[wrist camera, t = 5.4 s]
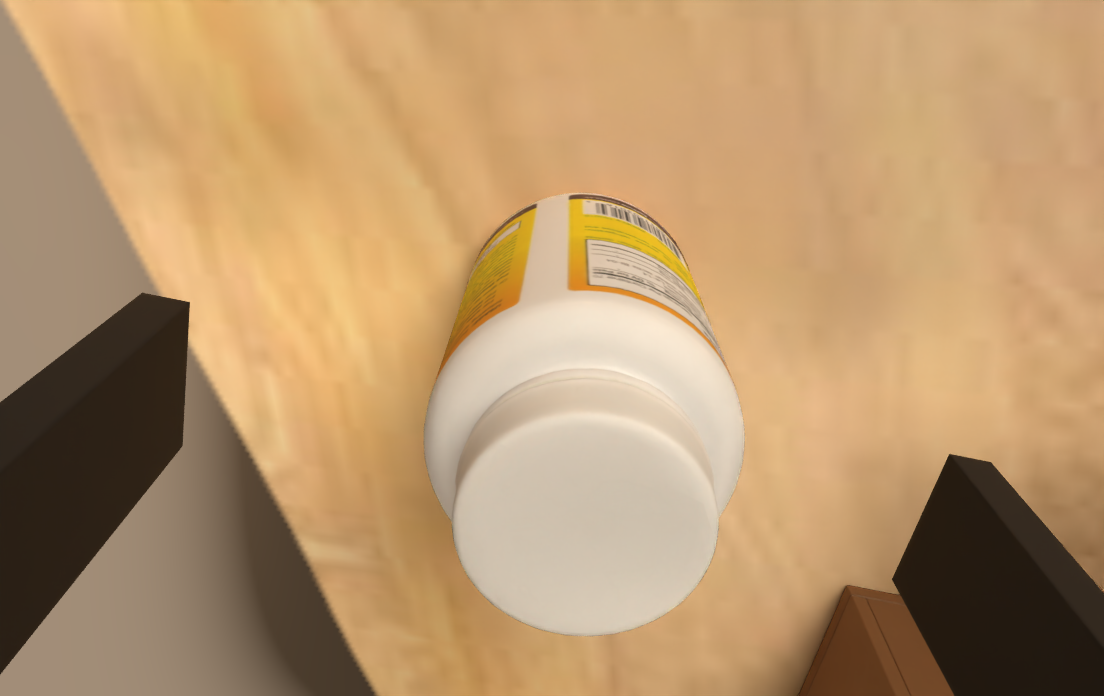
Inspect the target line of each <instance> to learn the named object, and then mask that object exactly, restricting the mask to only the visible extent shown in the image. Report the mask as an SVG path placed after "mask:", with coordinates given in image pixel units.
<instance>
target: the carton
mask: <svg viewBox="0 0 1104 696" xmlns="http://www.w3.org/2000/svg"><path fill="white" fill-rule="evenodd" d="M799 696H954V694H953V692H952V690H951V689H950V687H949V685H948V683H947V681H946V679H945V677H944V676H943V674H942V672H941V670H940V668H939V666H938V664H937V662H936V661H935V659H934V657H933V655H932V653H931V651H930V649H929V648H928V646H927V644H926V642H925V640H924V638H923V636H922V634H921V633H920V631H919V629H918V627H917V625H916V623H915V621H914V620H913V618H912V616H911V614H910V612H909V610H908V608H907V606H906V605H905V603H904V601H903V599H902V597H901V595H896V594H891V593H885V592H880V591H875V590H870V589H865V588H860V587H855V586H850V585H847V586H846V589H845V591H844V593H843V595H842V598H841V600H840V602H839V605H838V607H837V609H836V611H835V614H834V616H833V618H832V621H831V623H830V625H829V628H828V630H827V632H826V634H825V637H824V639H823V641H822V644H821V646H820V648H819V650H818V653H817V655H816V657H815V660H814V662H813V664H812V667H811V669H810V671H809V673H808V676H807V678H806V680H805V683H804V685H803V687H802V689H801V692H800V694H799Z"/></svg>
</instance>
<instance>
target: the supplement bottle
mask: <svg viewBox="0 0 1104 696" xmlns="http://www.w3.org/2000/svg"><path fill="white" fill-rule="evenodd" d="M744 443H745V432H744V422H743V416H742V411H741V406H740V402H739V398H738V395H737V391H736V388H735V385H734V382H733V380H732V378H731V375H730V372H729V370H728V368H727V365H726V363H725V360H724V357H723V355H722V352H721V350H720V347H719V345H718V342H717V340H716V337H715V334H714V332H713V329H712V327H711V324H710V322H709V319H708V317H707V314H706V311H705V309H704V306H703V304H702V301H701V299H700V296H699V294H698V291H697V289H696V286H695V283H694V281H693V278H692V276H691V274H690V271H689V268H688V265H687V263H686V261H685V259H684V257H683V255H682V253H681V251H680V249H679V247H678V246H677V244H676V242H675V241H674V240H673V238H672V237H671V236H670V235H669V233H668V232H667V231H666V230H665V229H664V228H663V227H662V226H661V225H660V224H659V223H658V222H657V221H656V220H655V219H654V218H652V217H651V216H650V215H649V214H647V213H646V212H644V211H643V210H641V209H639V208H637V207H636V206H634V205H632V204H630V203H628V202H625V201H623V200H620V199H617V198H614V197H610V196H606V195H601V194H593V193H567V194H561V195H556V196H552V197H548V198H545V199H542V200H539V201H536V202H534V203H532V204H530V205H528V206H526V207H524V208H522V209H521V210H519V211H518V212H516V213H515V214H513V215H512V216H510V217H509V218H508V219H507V220H505V221H504V222H503V223H502V224H501V225H500V226H499V227H498V228H497V229H496V230H495V232H494V233H493V234H492V235H491V236H490V238H489V239H488V240H487V241H486V243H485V245H484V246H483V248H482V249H481V251H480V253H479V255H478V257H477V259H476V262H475V264H474V266H473V269H472V272H471V275H470V278H469V281H468V284H467V287H466V290H465V294H464V297H463V300H462V303H461V306H460V309H459V311H458V315H457V318H456V321H455V324H454V327H453V330H452V333H451V336H450V339H449V342H448V345H447V348H446V351H445V354H444V357H443V360H442V363H441V366H440V369H439V372H438V375H437V378H436V381H435V384H434V387H433V389H432V393H431V396H430V399H429V404H428V408H427V413H426V418H425V424H424V455H425V462H426V466H427V471H428V475H429V478H430V481H431V484H432V487H433V490H434V492H435V494H436V496H437V498H438V500H439V502H440V504H441V506H442V508H443V510H444V511H445V513H446V514H447V516H448V517H449V519H450V520H451V521H452V532H453V539H454V543H455V548H456V551H457V554H458V557H459V560H460V562H461V564H462V566H463V568H464V570H465V572H466V574H467V576H468V578H469V579H470V580H471V582H472V583H473V584H474V586H475V587H476V588H477V589H478V590H479V591H480V593H481V594H482V595H483V596H484V597H485V598H486V599H487V600H488V601H489V602H491V603H492V604H493V605H494V606H495V607H497V608H498V609H500V610H501V611H503V612H504V613H506V614H507V615H509V616H510V617H512V618H514V619H516V620H518V621H520V622H522V623H525V624H527V625H529V626H532V627H534V628H537V629H540V630H544V631H548V632H553V633H558V634H563V635H571V636H600V635H611V634H616V633H620V632H625V631H629V630H632V629H635V628H637V627H640V626H643V625H645V624H648V623H650V622H652V621H654V620H656V619H658V618H660V617H662V616H663V615H665V614H666V613H668V612H669V611H670V610H672V609H673V608H675V607H676V606H678V605H679V604H680V603H681V602H682V601H683V600H684V599H685V598H686V597H687V596H688V595H689V594H690V593H691V592H692V591H693V590H694V589H695V587H696V586H697V585H698V583H699V582H700V581H701V579H702V578H703V576H704V574H705V573H706V571H707V569H708V566H709V564H710V562H711V560H712V557H713V554H714V552H715V547H716V542H717V537H718V530H719V517H720V515H721V514H722V512H723V511H724V509H725V507H726V506H727V504H728V502H729V500H730V498H731V496H732V494H733V492H734V490H735V487H736V485H737V482H738V478H739V474H740V471H741V467H742V462H743V455H744Z"/></svg>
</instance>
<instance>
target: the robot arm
mask: <svg viewBox="0 0 1104 696" xmlns="http://www.w3.org/2000/svg"><path fill="white" fill-rule="evenodd" d="M189 308H190V302H186V301H181V300H176V299H171V298H166V297H161V296H156V295H151V294H145V293H141V295H139V296H138V297H136V298H135V299H134V300H133V301H131V302H130V303H128V304H127V305H126V306H125V307H123V308H122V309H121V310H119V311H118V312H117V313H116V314H114V315H113V316H112V317H110V318H109V319H108V320H106V321H105V322H104V323H103V324H101V325H100V326H99V327H97V328H96V329H95V330H94V331H92V332H91V333H90V334H88V335H87V336H86V337H85V338H83V339H82V340H81V341H79V342H78V343H77V344H75V345H74V346H73V347H71V348H70V349H69V350H68V351H66V352H65V353H64V354H63V355H61V356H60V357H59V358H57V359H56V360H55V361H53V362H52V363H51V364H49V365H48V366H47V367H46V368H44V369H43V370H42V371H41V372H39V373H38V374H36V375H35V376H34V377H33V378H31V379H30V380H29V381H27V382H26V383H25V384H23V385H22V386H21V387H20V388H18V389H17V390H16V391H14V392H13V393H12V394H10V395H9V396H8V397H7V398H5V399H4V400H3V401H1V402H0V674H1V672H3V670H4V669H5V668H6V666H7V665H8V664H9V663H10V661H11V660H12V659H13V658H14V657H15V655H16V654H17V653H18V651H19V650H20V649H21V648H22V646H23V645H24V644H25V643H26V641H27V640H28V639H29V638H30V636H31V635H32V634H33V633H34V631H35V630H36V629H37V628H38V626H39V625H40V624H41V622H42V621H43V620H44V619H45V618H46V616H47V615H48V614H49V613H50V611H51V610H52V609H53V608H54V606H55V605H56V604H57V603H58V601H59V600H60V599H61V598H62V596H63V595H64V594H65V592H66V591H67V590H68V589H69V588H70V586H71V585H72V584H73V583H74V581H75V580H76V579H77V577H78V576H79V575H80V574H81V572H82V571H83V570H84V569H85V568H86V566H87V565H88V564H89V562H90V561H91V560H92V559H93V557H94V556H95V555H96V554H97V552H98V551H99V550H100V549H101V547H102V546H103V545H104V544H105V542H106V541H107V540H108V539H109V537H110V536H111V535H112V534H113V532H114V531H115V530H116V529H117V527H118V526H119V525H120V523H121V522H122V521H123V520H124V519H125V517H126V516H127V515H128V514H129V512H130V511H131V510H132V509H133V507H134V506H135V505H136V504H137V502H138V501H139V500H140V499H141V497H142V496H143V495H144V494H145V492H146V491H147V490H148V489H149V487H150V486H151V485H152V484H153V482H154V481H155V480H156V479H157V477H158V476H159V475H160V474H161V472H162V471H163V470H164V468H165V467H166V466H167V465H168V463H169V462H170V461H171V460H172V458H173V457H174V456H175V455H176V453H177V452H178V451H179V450H180V448H181V447H182V444H183V424H184V405H185V386H186V366H187V347H188V327H189ZM892 580H893V582H894V584H895V586H896V588H897V590H898V592H899V593H900V595H901V597H902V599H903V601H904V603H905V605H906V606H907V608H908V610H909V612H910V614H911V616H912V618H913V620H914V621H915V623H916V625H917V627H918V629H919V631H920V633H921V634H922V636H923V638H924V640H925V642H926V644H927V646H928V648H929V649H930V651H931V653H932V655H933V657H934V659H935V661H936V662H937V664H938V666H939V668H940V670H941V672H942V674H943V676H944V677H945V679H946V681H947V683H948V685H949V687H950V689H951V690H952V692H953V694H954V696H1104V593H1103V592H1102V591H1101V590H1100V588H1099V587H1098V586H1097V585H1096V584H1095V583H1094V581H1093V580H1092V579H1091V578H1090V577H1089V576H1088V574H1087V573H1086V572H1085V571H1084V570H1083V569H1082V567H1081V566H1080V565H1079V564H1078V563H1077V562H1076V561H1075V559H1074V558H1073V557H1072V556H1071V555H1070V554H1069V552H1068V551H1067V550H1066V549H1065V548H1064V547H1063V545H1062V544H1061V543H1060V542H1059V541H1058V540H1057V538H1056V537H1055V536H1054V535H1053V534H1052V533H1051V532H1050V530H1049V529H1048V528H1047V527H1046V526H1045V525H1044V523H1043V522H1042V521H1041V520H1040V519H1039V518H1038V516H1037V515H1036V514H1035V513H1034V512H1033V511H1032V509H1031V508H1030V507H1029V506H1028V505H1027V504H1026V503H1025V501H1024V500H1023V499H1022V498H1021V497H1020V496H1019V494H1018V493H1017V492H1016V491H1015V490H1014V489H1013V487H1012V486H1011V485H1010V484H1009V483H1008V482H1007V480H1006V479H1005V478H1004V477H1003V476H1002V475H1001V474H1000V472H999V471H998V470H997V469H996V468H995V467H994V465H993V464H992V463H991V462H987V461H982V460H977V459H972V458H967V457H962V456H957V455H952V454H949V456H948V458H947V460H946V463H945V465H944V467H943V469H942V471H941V474H940V476H939V478H938V480H937V482H936V484H935V487H934V489H933V491H932V493H931V495H930V498H929V500H928V502H927V504H926V506H925V508H924V511H923V513H922V515H921V517H920V519H919V522H918V524H917V526H916V528H915V530H914V532H913V535H912V537H911V539H910V541H909V543H908V546H907V548H906V550H905V552H904V554H903V556H902V559H901V561H900V563H899V565H898V567H897V570H896V572H895V574H894V576H893V578H892Z"/></svg>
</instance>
